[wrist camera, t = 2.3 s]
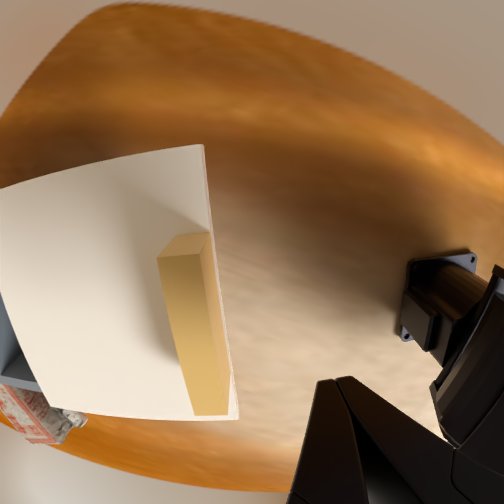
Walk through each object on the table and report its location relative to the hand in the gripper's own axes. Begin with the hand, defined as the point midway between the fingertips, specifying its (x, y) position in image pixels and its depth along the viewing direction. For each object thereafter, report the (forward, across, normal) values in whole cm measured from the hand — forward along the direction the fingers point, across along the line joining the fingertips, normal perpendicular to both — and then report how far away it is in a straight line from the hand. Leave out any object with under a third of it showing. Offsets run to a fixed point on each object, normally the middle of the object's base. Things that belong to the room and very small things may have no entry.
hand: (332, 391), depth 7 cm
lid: (+6, +9, 0) cm, 10 cm away
